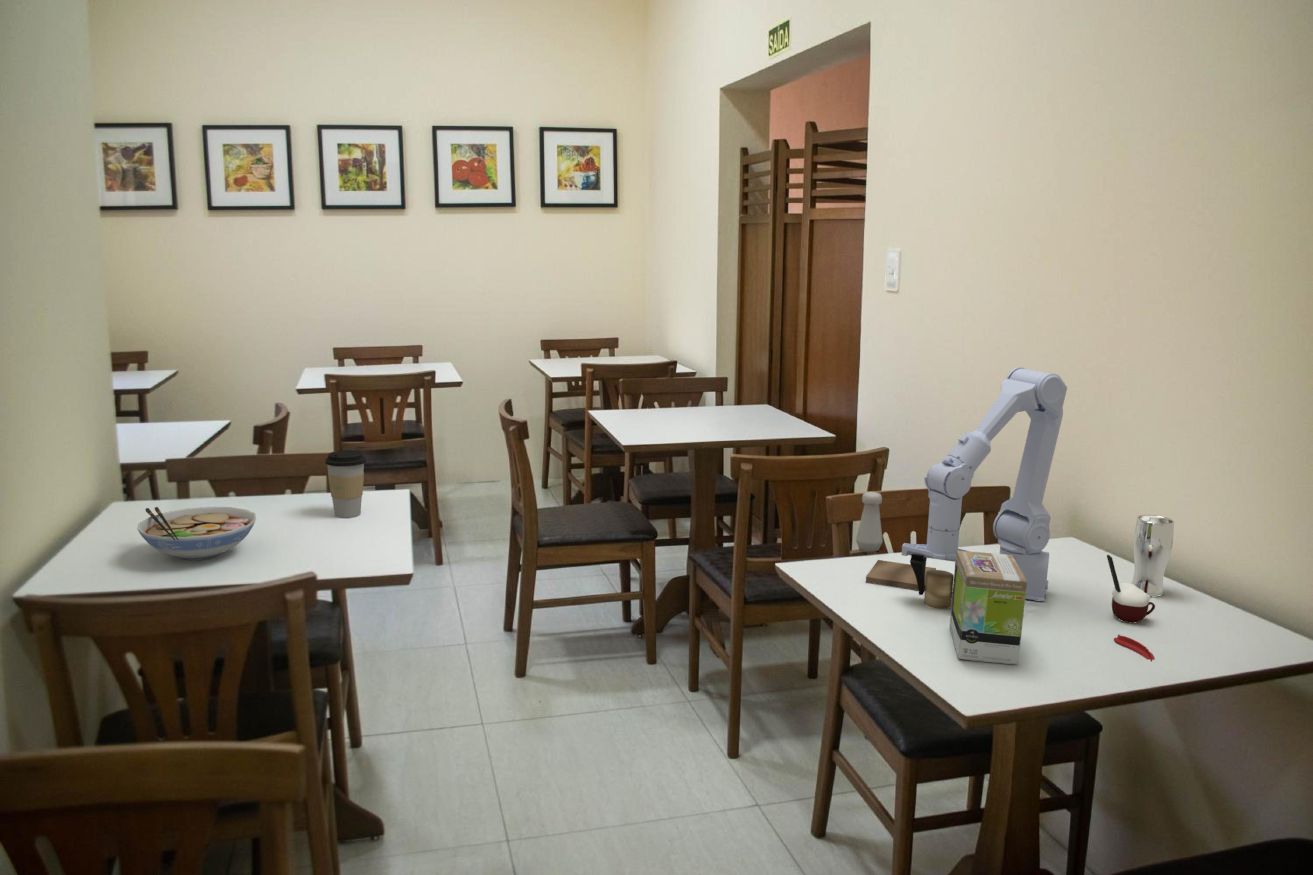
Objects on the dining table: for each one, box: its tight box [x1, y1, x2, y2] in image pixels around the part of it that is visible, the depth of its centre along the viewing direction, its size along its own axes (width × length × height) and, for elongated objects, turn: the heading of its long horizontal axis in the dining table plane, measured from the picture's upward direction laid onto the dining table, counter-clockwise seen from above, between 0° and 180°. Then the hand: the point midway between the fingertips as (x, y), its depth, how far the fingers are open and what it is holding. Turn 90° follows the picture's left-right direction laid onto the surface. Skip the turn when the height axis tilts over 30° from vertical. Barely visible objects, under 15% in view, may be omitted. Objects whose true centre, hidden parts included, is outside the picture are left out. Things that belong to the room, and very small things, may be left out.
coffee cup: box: [324, 449, 367, 519], centre depth 245 cm, size 9×9×15 cm
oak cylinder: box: [923, 569, 954, 610], centre depth 195 cm, size 5×5×6 cm
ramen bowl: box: [137, 506, 257, 561], centre depth 214 cm, size 25×23×8 cm
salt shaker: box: [855, 491, 884, 553], centre depth 227 cm, size 6×6×13 cm
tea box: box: [949, 550, 1027, 665], centre depth 175 cm, size 15×10×15 cm, turn 170°
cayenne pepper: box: [1113, 634, 1156, 662], centre depth 176 cm, size 12×5×2 cm, turn 174°
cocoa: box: [1106, 554, 1156, 624], centre depth 189 cm, size 10×6×12 cm, turn 67°
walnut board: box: [865, 559, 937, 592], centre depth 210 cm, size 12×12×1 cm
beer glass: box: [1130, 514, 1175, 596], centre depth 203 cm, size 7×7×15 cm
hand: (938, 595), depth 195 cm, fingers open, 6 cm apart
